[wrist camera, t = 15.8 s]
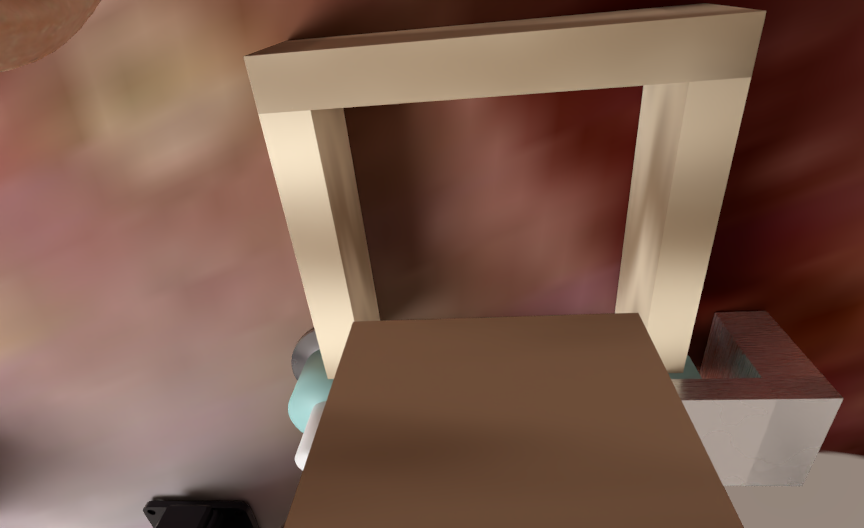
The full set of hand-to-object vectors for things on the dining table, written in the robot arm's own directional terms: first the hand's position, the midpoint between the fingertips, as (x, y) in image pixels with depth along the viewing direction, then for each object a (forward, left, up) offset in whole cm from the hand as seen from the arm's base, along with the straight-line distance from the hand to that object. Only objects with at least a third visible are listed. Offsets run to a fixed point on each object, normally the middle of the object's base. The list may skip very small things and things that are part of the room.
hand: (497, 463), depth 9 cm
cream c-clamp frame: (0, 0, -11) cm, 11 cm away
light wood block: (0, 0, -1) cm, 1 cm away
